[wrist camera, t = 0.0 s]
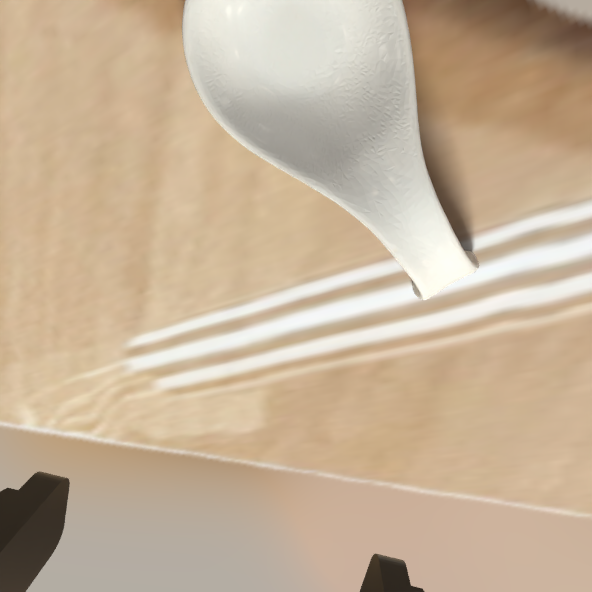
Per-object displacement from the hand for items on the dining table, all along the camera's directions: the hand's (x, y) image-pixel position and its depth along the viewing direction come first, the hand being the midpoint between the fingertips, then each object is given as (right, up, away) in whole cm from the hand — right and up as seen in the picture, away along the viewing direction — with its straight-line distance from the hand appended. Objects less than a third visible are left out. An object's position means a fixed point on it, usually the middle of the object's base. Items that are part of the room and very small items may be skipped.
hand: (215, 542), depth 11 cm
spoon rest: (+6, +17, +17) cm, 25 cm away
